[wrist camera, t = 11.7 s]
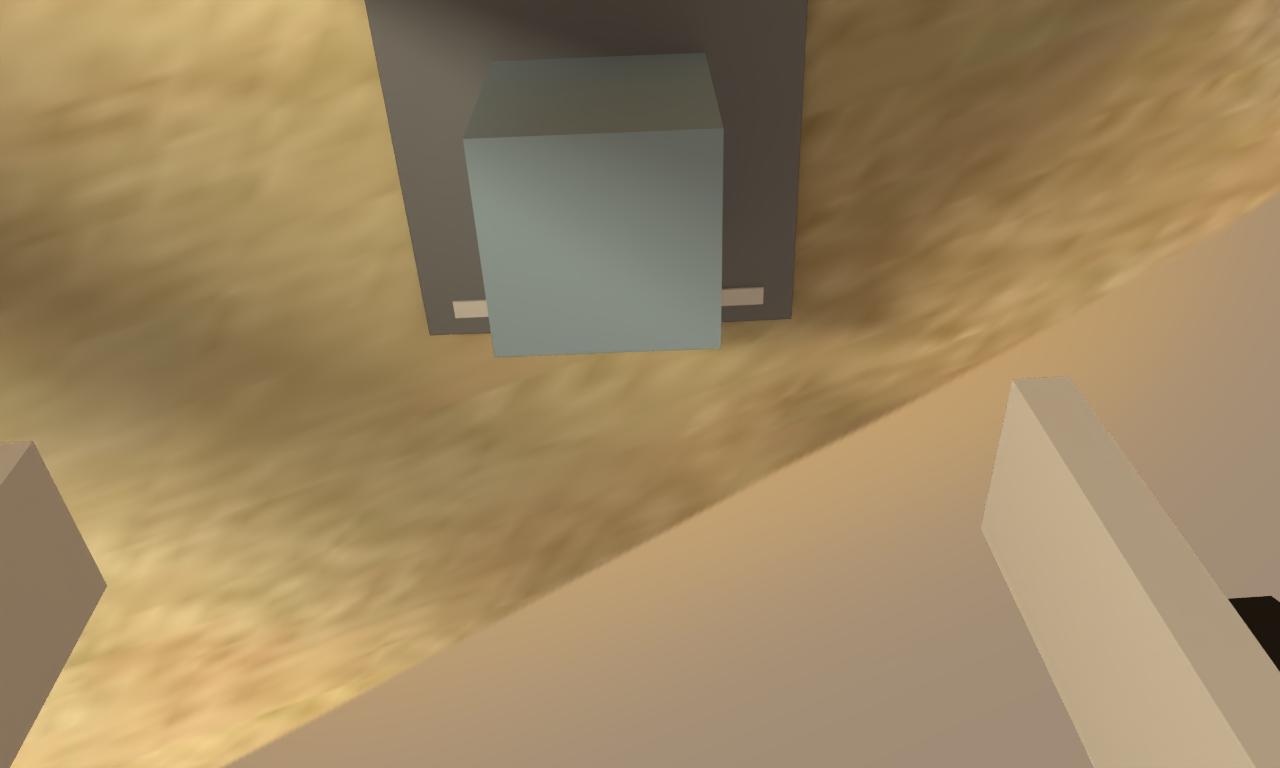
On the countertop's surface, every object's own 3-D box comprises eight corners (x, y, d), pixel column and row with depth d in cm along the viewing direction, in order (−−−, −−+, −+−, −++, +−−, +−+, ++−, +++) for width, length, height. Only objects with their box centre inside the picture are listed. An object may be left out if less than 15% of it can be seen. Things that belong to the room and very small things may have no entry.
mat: (433, 324, 28) (429, 336, 27) (360, -59, 22) (353, -53, 21) (788, 308, 27) (791, 320, 27) (807, -81, 22) (812, -76, 21)
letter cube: (491, 61, 23) (462, 138, 19) (705, 52, 23) (723, 128, 19) (515, 258, 26) (495, 362, 22) (704, 250, 26) (720, 353, 22)
